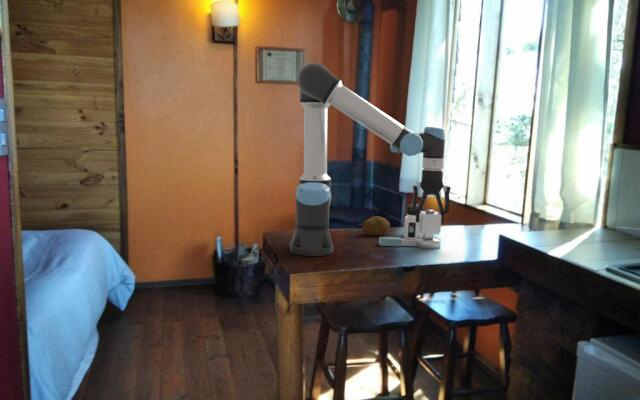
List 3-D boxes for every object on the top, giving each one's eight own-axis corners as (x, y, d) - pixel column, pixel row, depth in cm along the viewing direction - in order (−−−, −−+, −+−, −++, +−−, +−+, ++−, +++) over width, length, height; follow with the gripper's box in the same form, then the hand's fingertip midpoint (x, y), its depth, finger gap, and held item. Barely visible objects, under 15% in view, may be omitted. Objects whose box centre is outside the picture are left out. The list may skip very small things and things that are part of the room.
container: (423, 240, 202) (425, 207, 200) (403, 238, 204) (405, 206, 202) (423, 235, 210) (425, 204, 208) (404, 234, 211) (406, 203, 209)
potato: (357, 234, 209) (358, 215, 208) (381, 231, 216) (382, 213, 214) (369, 238, 202) (370, 219, 201) (394, 235, 209) (395, 216, 208)
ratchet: (380, 247, 189) (381, 227, 188) (378, 241, 198) (379, 222, 197) (442, 249, 188) (443, 229, 187) (437, 243, 197) (438, 224, 196)
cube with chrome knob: (421, 233, 189) (423, 211, 188) (418, 229, 195) (420, 208, 194) (439, 234, 189) (440, 212, 187) (435, 230, 195) (437, 208, 194)
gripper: (407, 169, 185) (404, 232, 189) (461, 171, 184) (457, 234, 188) (404, 167, 192) (401, 228, 196) (456, 169, 192) (452, 229, 196)
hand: (428, 231), depth 192 cm, fingers closed on cube with chrome knob, 6 cm apart
